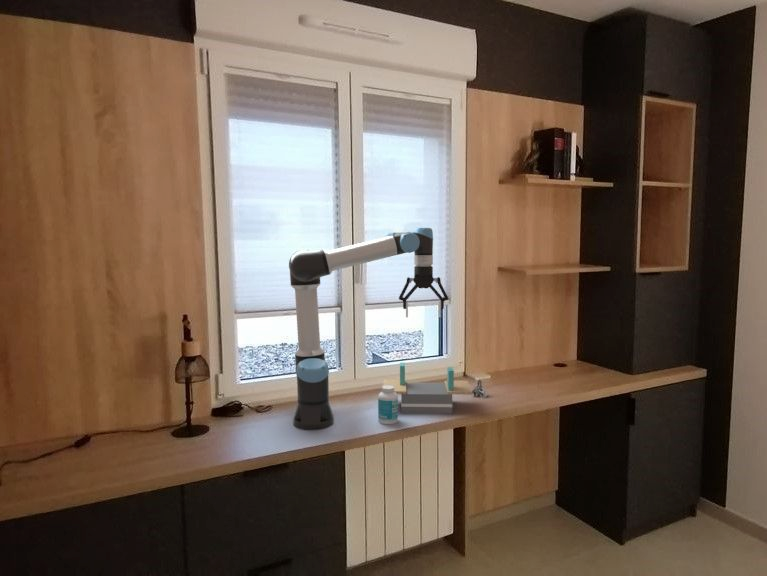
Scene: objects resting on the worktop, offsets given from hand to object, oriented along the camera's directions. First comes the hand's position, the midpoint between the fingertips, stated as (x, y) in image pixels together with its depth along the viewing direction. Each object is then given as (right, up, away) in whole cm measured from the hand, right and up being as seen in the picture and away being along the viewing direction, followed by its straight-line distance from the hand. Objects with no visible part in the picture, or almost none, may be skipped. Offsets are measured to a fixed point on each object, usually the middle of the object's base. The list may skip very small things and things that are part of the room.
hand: (423, 317), depth 209 cm
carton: (+1, -37, -1) cm, 37 cm away
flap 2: (+14, -29, -3) cm, 32 cm away
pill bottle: (-15, -39, -18) cm, 45 cm away
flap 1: (-12, -29, -2) cm, 31 cm away
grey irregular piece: (+24, -36, +13) cm, 45 cm away
